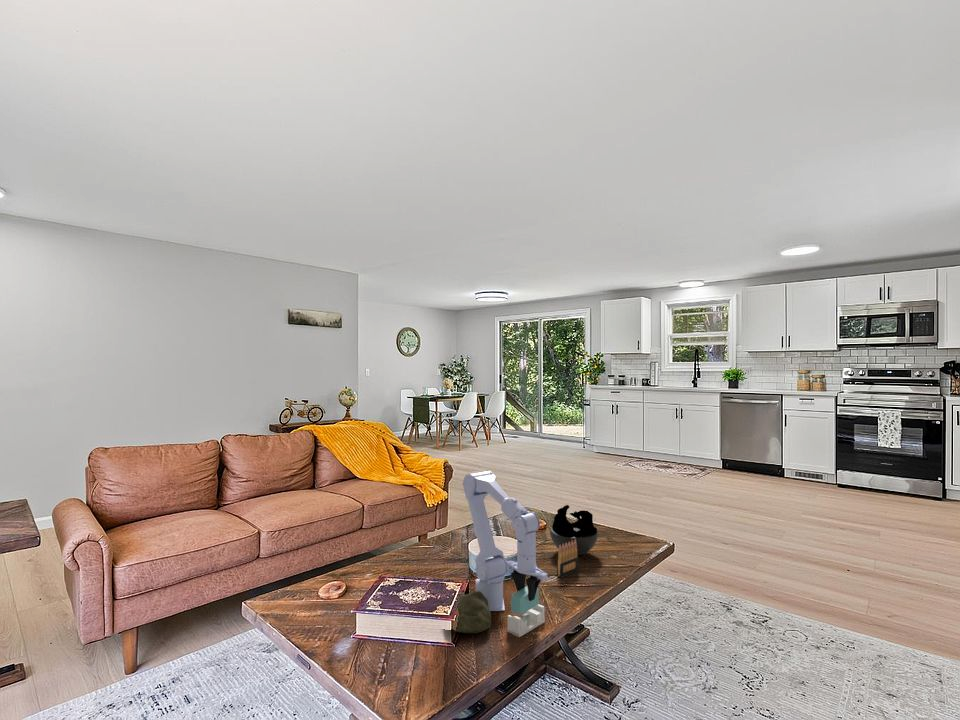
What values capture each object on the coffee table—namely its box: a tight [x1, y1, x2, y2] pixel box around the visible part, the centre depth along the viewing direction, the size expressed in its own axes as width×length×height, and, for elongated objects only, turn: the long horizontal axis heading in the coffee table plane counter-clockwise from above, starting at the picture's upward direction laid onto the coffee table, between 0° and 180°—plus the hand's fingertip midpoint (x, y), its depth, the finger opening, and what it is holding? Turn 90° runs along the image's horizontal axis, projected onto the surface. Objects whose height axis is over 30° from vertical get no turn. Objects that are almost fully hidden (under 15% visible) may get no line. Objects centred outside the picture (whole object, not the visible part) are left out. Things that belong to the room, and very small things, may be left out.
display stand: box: [506, 603, 546, 638], centre depth 159 cm, size 12×5×5 cm, turn 136°
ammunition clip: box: [556, 539, 579, 578], centre depth 198 cm, size 11×2×12 cm, turn 130°
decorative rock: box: [455, 591, 492, 634], centre depth 159 cm, size 15×16×10 cm
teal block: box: [510, 585, 540, 616], centre depth 158 cm, size 9×4×5 cm, turn 136°
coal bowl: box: [549, 504, 599, 557], centre depth 217 cm, size 20×20×19 cm
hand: (526, 597), depth 159 cm, fingers closed on teal block, 3 cm apart
